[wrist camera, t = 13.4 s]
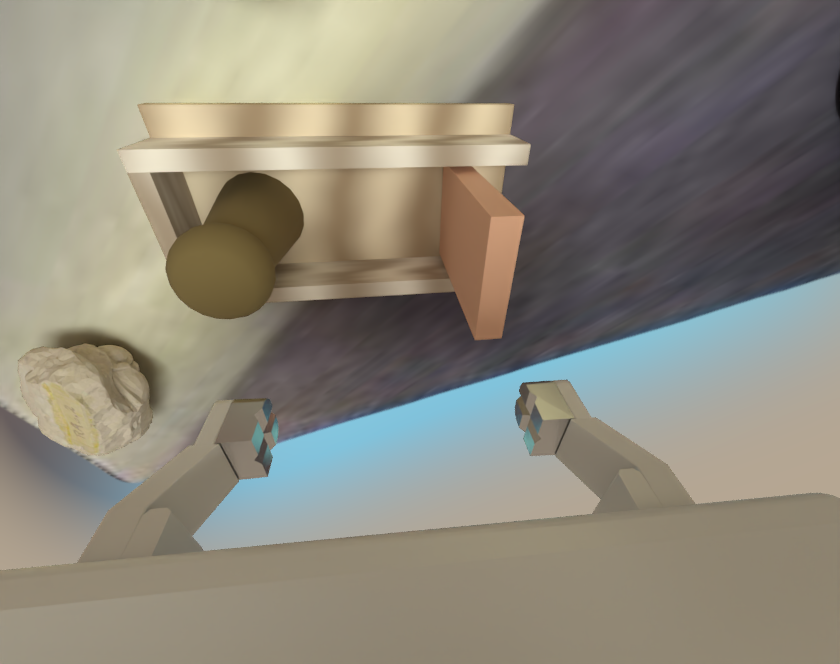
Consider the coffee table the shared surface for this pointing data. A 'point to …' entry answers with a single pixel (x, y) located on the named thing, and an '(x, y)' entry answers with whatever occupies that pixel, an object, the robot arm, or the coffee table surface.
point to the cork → (236, 247)
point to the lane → (326, 181)
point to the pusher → (479, 247)
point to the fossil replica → (86, 396)
